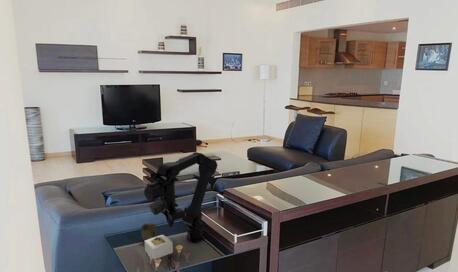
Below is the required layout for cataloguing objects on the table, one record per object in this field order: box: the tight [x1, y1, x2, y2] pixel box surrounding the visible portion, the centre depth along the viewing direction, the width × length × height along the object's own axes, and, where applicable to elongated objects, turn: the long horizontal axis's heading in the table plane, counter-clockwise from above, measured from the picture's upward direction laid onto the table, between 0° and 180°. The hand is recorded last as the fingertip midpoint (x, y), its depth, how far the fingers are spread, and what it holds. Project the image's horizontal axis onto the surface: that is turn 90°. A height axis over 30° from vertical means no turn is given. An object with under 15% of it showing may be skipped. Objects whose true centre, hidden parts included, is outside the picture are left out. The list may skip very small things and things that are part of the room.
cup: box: [139, 222, 158, 241], centre depth 155 cm, size 8×7×8 cm
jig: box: [143, 234, 174, 260], centre depth 147 cm, size 9×9×5 cm
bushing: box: [154, 236, 163, 246], centre depth 147 cm, size 4×4×6 cm
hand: (170, 226), depth 145 cm, fingers closed
